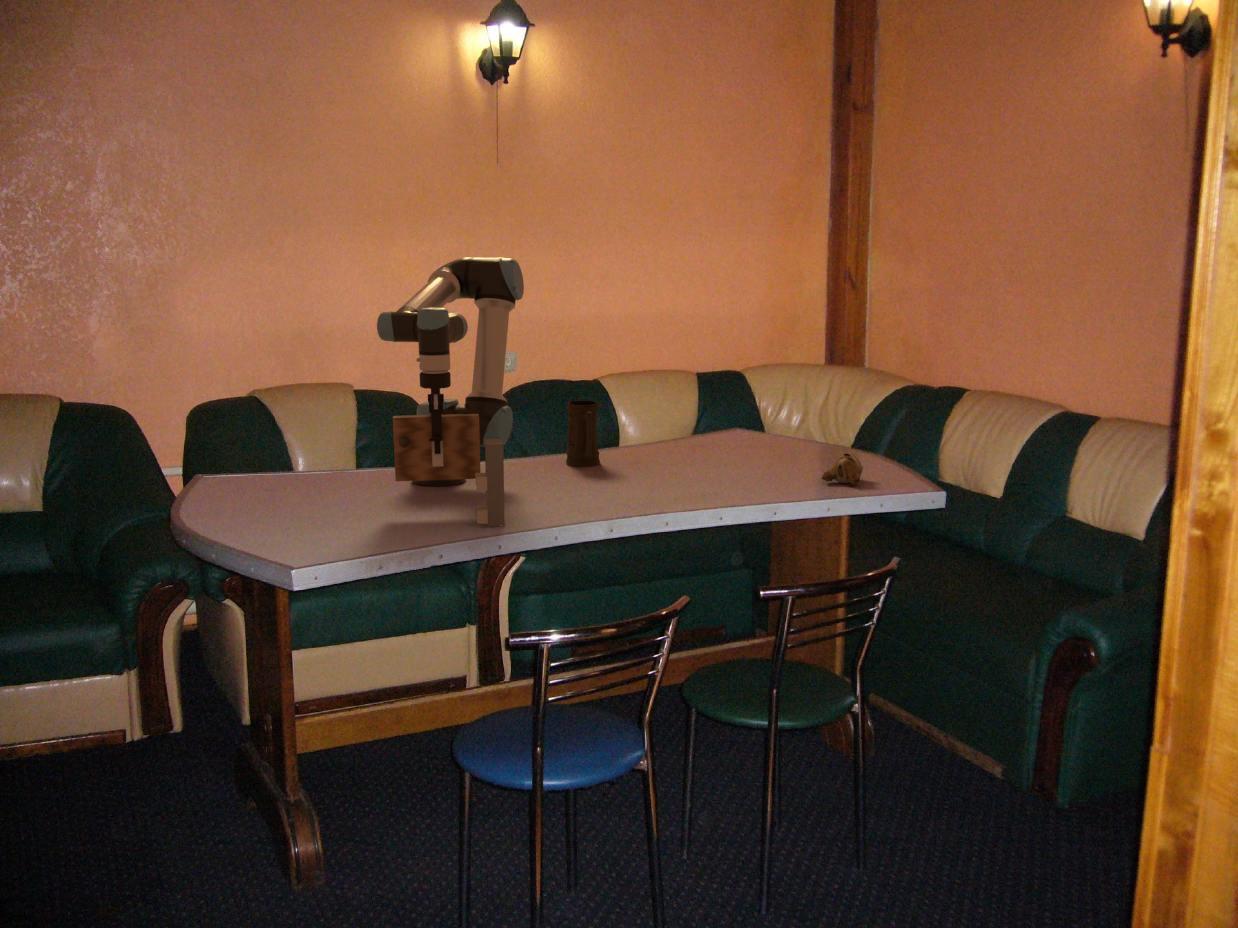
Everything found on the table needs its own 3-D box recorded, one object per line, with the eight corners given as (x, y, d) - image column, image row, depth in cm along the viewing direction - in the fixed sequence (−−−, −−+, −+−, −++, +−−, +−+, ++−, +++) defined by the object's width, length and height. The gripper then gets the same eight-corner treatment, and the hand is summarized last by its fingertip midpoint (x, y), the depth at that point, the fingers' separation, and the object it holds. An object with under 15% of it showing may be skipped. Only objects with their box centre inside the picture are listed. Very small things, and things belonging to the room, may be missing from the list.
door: (395, 482, 264) (392, 418, 261) (395, 478, 269) (393, 415, 265) (480, 479, 268) (479, 416, 264) (480, 475, 272) (478, 413, 268)
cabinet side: (477, 527, 255) (475, 445, 251) (476, 519, 263) (474, 439, 259) (504, 526, 256) (503, 444, 252) (502, 518, 264) (501, 438, 260)
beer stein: (560, 461, 335) (561, 399, 330) (590, 458, 339) (592, 398, 334) (578, 473, 322) (580, 409, 317) (610, 470, 326) (612, 407, 321)
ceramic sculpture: (871, 449, 310) (856, 461, 297) (870, 478, 312) (855, 491, 300) (835, 446, 315) (819, 458, 302) (835, 475, 317) (819, 487, 304)
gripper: (419, 367, 270) (423, 458, 275) (418, 376, 255) (422, 472, 260) (449, 367, 271) (452, 457, 276) (450, 375, 256) (453, 471, 261)
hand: (438, 464), depth 268 cm, fingers closed on door, 3 cm apart
